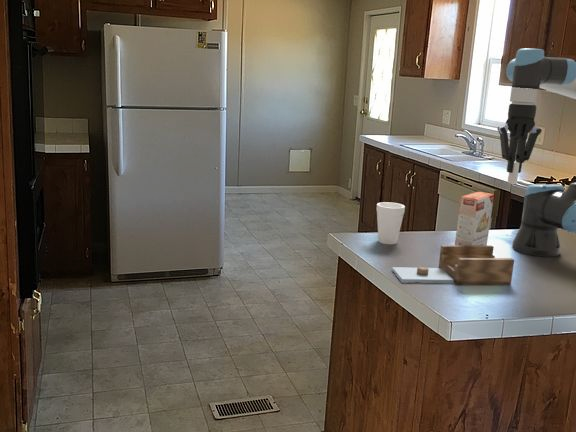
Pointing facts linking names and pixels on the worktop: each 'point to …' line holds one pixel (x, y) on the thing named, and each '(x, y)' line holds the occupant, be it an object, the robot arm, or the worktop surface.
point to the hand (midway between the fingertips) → (512, 183)
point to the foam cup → (389, 221)
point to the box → (475, 265)
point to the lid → (422, 275)
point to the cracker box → (474, 219)
